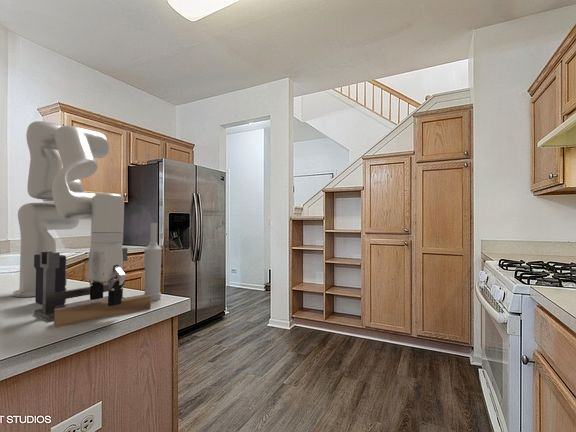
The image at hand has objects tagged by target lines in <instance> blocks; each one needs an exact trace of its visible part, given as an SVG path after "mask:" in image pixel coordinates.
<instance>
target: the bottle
mask: <svg viewBox="0 0 576 432" xmlns="http://www.w3.org/2000/svg"><path fill="white" fill-rule="evenodd" d="M149 227H150V228H149V229H150V232H149V236H150V237H149V244H148V246H146V248H144V293H143V295H145V294H147V295H150V296H151V302H154V301H159V300H160V299H161V297H162V296H161V295H162V292H161V273H162V270H161V269H162V253H163V251H162V247H161V246H160V245H159V244H158V242H157V241H158V237H157V236H158V235H157V233H158V232H157V231H158V222H150V225H149Z"/></svg>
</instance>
